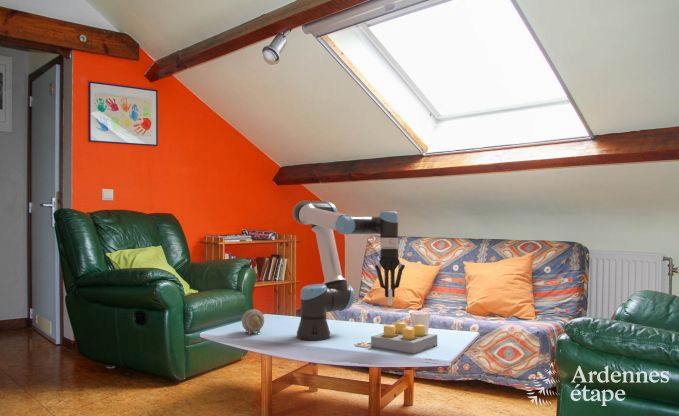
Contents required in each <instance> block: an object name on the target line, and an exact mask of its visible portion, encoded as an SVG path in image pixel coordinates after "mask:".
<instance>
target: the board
mask: <svg viewBox="0 0 679 416" xmlns="http://www.w3.org/2000/svg"><path fill="white" fill-rule="evenodd" d="M370 343H371V346H370V347H371V348H374V349H381V350H385V351H392V352H398V353H405V354H410V355H415V354H417V353H421V352H424V351H426V350H429V349H431V348H434V347H436V346H438V334H435V333H429V332H428V333H425V336H424V337H417V336H414V340H412V341H409V340H403V337H402V334H396V333H395V337H394V338H388V337H384V332H382V333H379V334H375V335H372V336H370Z"/></svg>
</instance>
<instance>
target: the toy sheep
mask: <svg viewBox="0 0 679 416" xmlns="http://www.w3.org/2000/svg"><path fill="white" fill-rule="evenodd" d="M264 324H265V316H264V315H263V313H262V312H261V311H260V310H258V309H254V308H253V309H248V310H247V311H245V312H244V313H243V315H242V317H241V325H242V327H243V329H244V330H245V332H246V331H248V332H247V333H248V335H249V334H251V335H252V333H256V334H257V333H260V334H261V329H262V328H263V327H264Z"/></svg>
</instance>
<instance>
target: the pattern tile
mask: <svg viewBox="0 0 679 416" xmlns="http://www.w3.org/2000/svg"><path fill="white" fill-rule="evenodd" d="M354 347H360V348H366V349H368V348H369V347H371V342H366V341H360V342H358V343H354Z"/></svg>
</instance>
